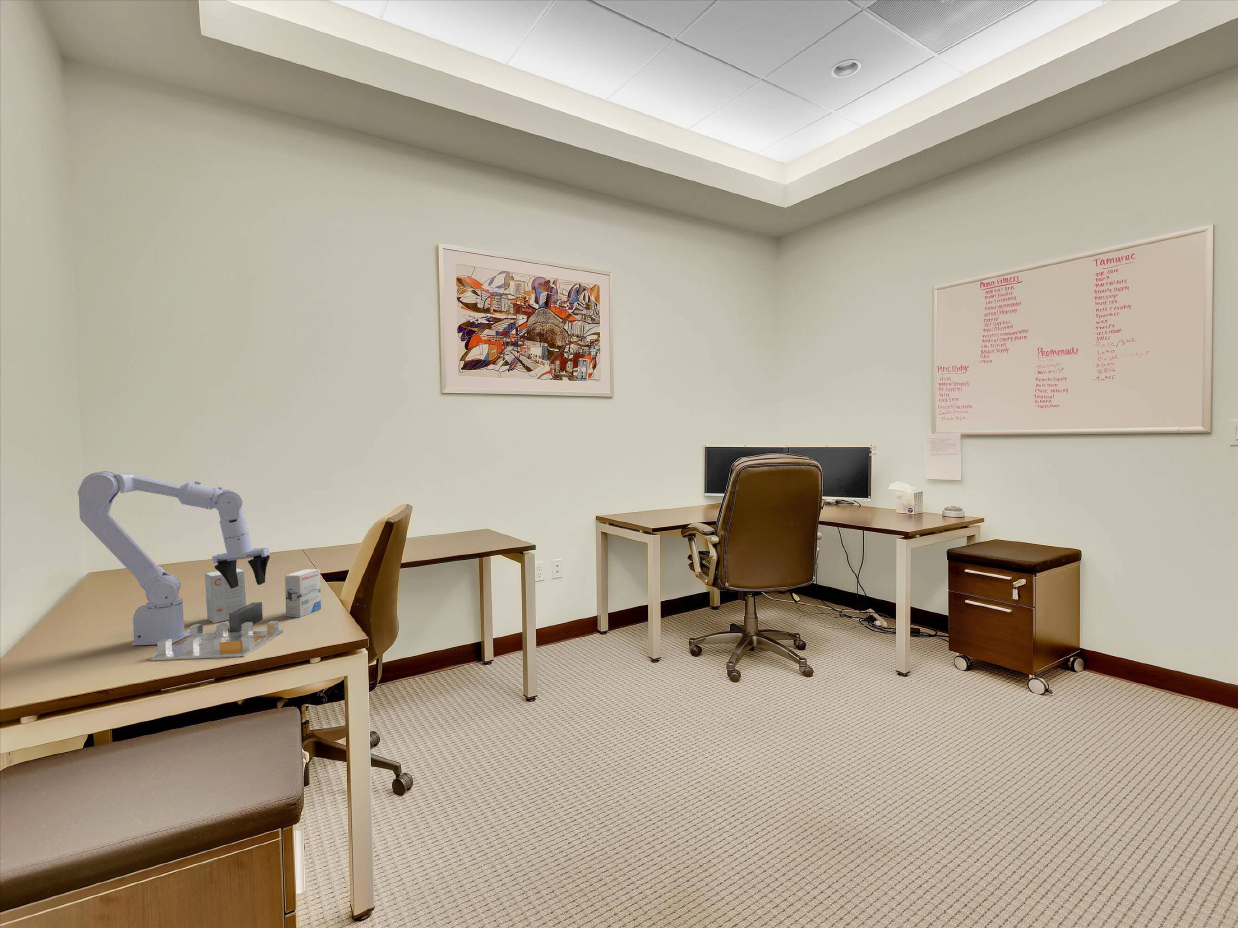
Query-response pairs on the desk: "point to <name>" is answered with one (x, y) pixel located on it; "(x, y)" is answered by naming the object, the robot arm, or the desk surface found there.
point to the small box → (223, 596)
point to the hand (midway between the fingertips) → (248, 585)
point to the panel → (245, 616)
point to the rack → (217, 642)
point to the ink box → (302, 592)
